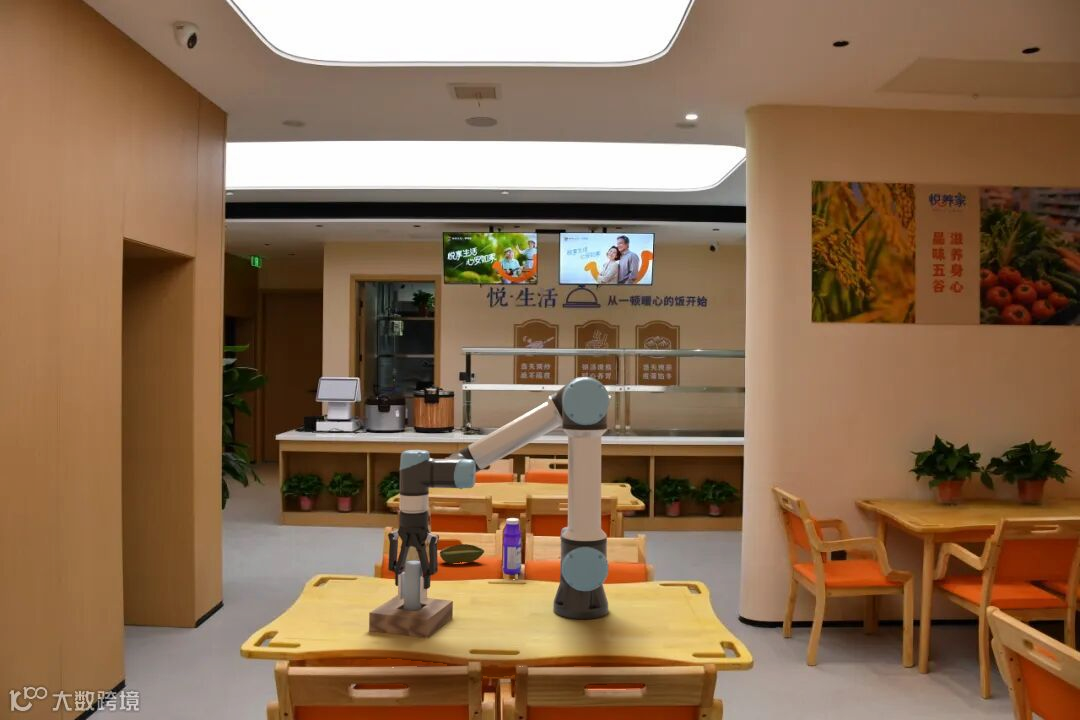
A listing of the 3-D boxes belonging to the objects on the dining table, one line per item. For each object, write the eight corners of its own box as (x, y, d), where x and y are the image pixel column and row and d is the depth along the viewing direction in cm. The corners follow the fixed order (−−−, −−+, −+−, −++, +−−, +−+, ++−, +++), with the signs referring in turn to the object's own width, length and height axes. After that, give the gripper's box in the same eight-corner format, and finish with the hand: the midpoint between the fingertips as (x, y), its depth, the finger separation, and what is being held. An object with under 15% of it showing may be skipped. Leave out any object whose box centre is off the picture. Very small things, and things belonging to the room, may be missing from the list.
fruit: (460, 557, 272) (460, 538, 272) (485, 563, 264) (485, 543, 264) (436, 563, 263) (436, 543, 263) (461, 570, 255) (461, 549, 255)
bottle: (517, 576, 248) (518, 521, 248) (500, 575, 250) (501, 520, 250) (522, 570, 256) (523, 517, 256) (506, 569, 257) (507, 516, 257)
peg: (423, 622, 204) (425, 561, 204) (416, 628, 200) (417, 565, 200) (407, 620, 205) (409, 560, 205) (400, 626, 201) (401, 564, 201)
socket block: (452, 617, 208) (452, 600, 208) (427, 637, 192) (427, 619, 192) (398, 611, 212) (398, 594, 212) (369, 630, 197) (369, 612, 197)
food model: (399, 567, 257) (400, 506, 257) (402, 562, 263) (403, 503, 263) (429, 568, 257) (430, 507, 257) (431, 562, 263) (432, 503, 263)
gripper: (452, 510, 203) (451, 599, 203) (388, 505, 209) (386, 592, 209) (441, 515, 196) (439, 607, 196) (374, 510, 201) (373, 600, 201)
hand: (412, 599), depth 202 cm, fingers open, 5 cm apart
